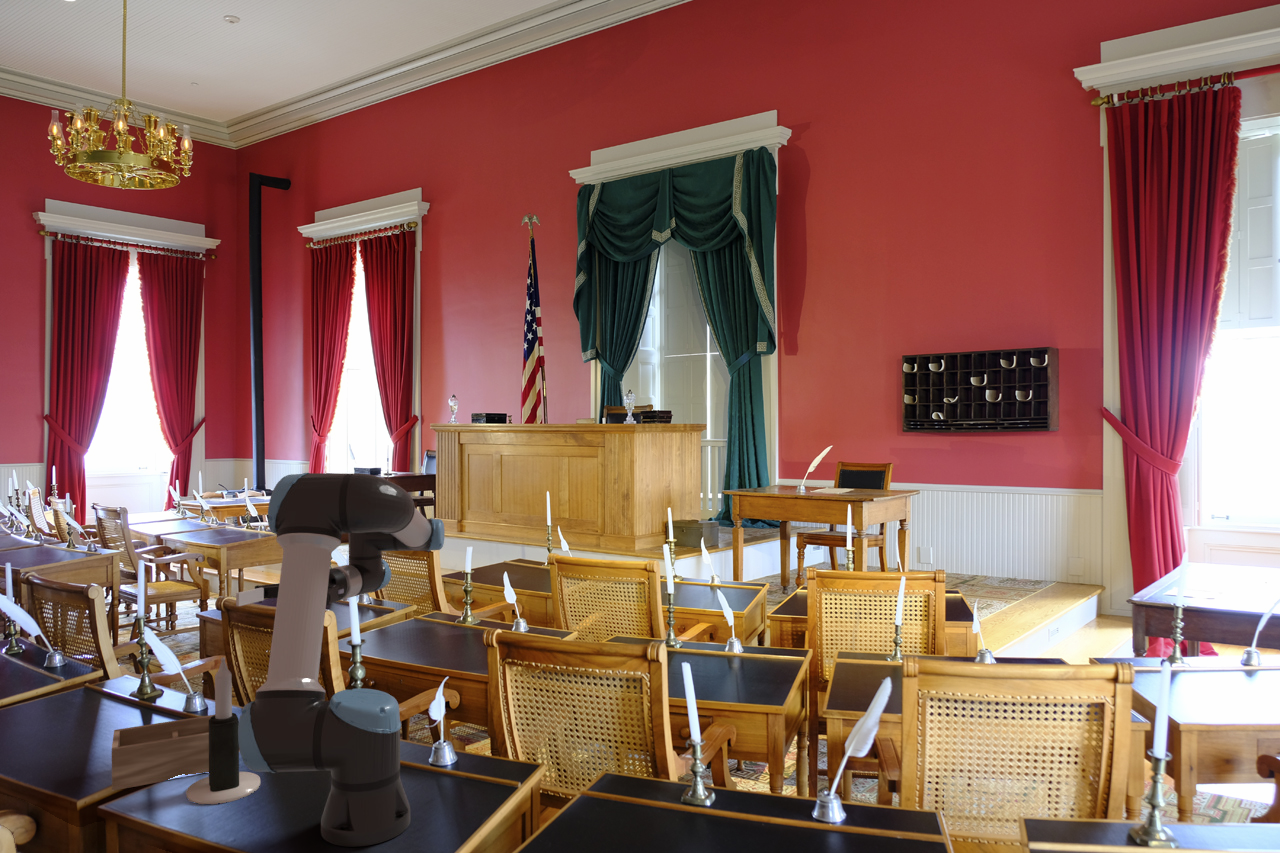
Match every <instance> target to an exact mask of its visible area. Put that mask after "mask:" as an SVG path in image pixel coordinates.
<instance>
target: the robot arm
mask: <svg viewBox="0 0 1280 853" xmlns="http://www.w3.org/2000/svg"><path fill="white" fill-rule="evenodd" d="M267 515H268V519H267V524H268V528H269V530H270V532H271V533H273V534H275V535H276V541H275V542H276V543H278V545H279V547H281V548H282V550H283V552H282V560H281V568H280V576H279V583H269V584H262V585H259V584H258V585H255V586H254V588H252V589H248V590H244V591H239V592H236V593H235V594H236V597H235V598H236V599H235V603H236V605H235V606H236V607H242V606H245V605H251V604H254V603H262V602H263V601H265V600H267V599H276V607H275V613H274V614H275V615H274V622H273V630H272V631H273V632H272V638H271V647H270V653H269V654H270V655H269V663H268V670H267V676H266V681H265V682H264V683H263V684H262V685H260V687H259V688H258V689H256V691H255V699H254V701H253V700H252V701H250V702H248V703H246V704H245V705H244V706H243V707H242V710H241V714H240V715H239V717H238V720H239V725H238V742H239V755H240V756H241V758H242V762H243V763H244V765H245V766H246V767H247V768H248V769H249V770H251V771H252V772H257V773H258V772H259V773H261V772H262V773H270V774H271V773H272V774H277V773H288V772H289V773H290V772H294V773H296V772H320V771H322V772H323V771H324V772H325V771H330V775H331V780H330V782H331V783H330V784H331V786H330V791H329V793H328V797H327V800H326V802H325V806H324V810H323V812H322V815H321V819H320V835H321V837H322V838H323V840H324V841H326V842H327V843H330V844H332V845H335V846H339V847H351V848H352V847H353V848H355V847H356V848H357V847H366V846H367V847H368V846H372V845H377V844H380V843H384V842H387V841H389V840H392V839H393V838H396V837H398V836H399V835H401V834H402V833H404V832H405V831H406V829H408V828H409V826H410V825H411V805H410V802H409V800H408V797H407V794H406V792H405V789H404V786H403V783H402V780H401V726H402V722H401V721H402V720H401V719H400V705H399V703H398V701H397V699H396V698H395V697H394V696H392V695H390V694H389V693H388V692H385V691H382V690H378V689H372V688H360V687H359V688H352V689H342V690H340V691H337V692H336V693H334V694H333V695H332V697H331V698H330V700H325V699H326V689H325V688H323V686H322V685H321V684H320V682H319V674H320V673H319V672H320V664H321V663H320V662H321V654H322V644H323V636H324V635H323V634H324V626H325V616H326V610H327V609H326V607H327V606H329V605H330V604H333V603H336V602H339V601H343V602H347V601H348V598H354V597H357V596H360V595H361V596H362V595H365V594H371V593H374V592H377V591H379V590H382V589H384V588H385V587H387V586H388V584H389V583H390V581H391V579H392V570H391V568H390V565H389V563H388V562H387V561H386V560H385V559H384V558H382V557H383V555H382V554H383V553H382V552H393V551H394V552H399V551H402V552H403V551H405V552H406V551H408V552H409V551H410V552H411V551H414V552H415V551H417V552H419V551H420V552H421V551H422V552H425V551H426V552H431V551H439V550H442V548H443V547H444V545H445V544H444V543H445V533H446V532H445V524H444V521H443V520H442V519H439V518H432V517H431V518H426V517H425V516H424V515H423V514H422V513H421V512H420V511H419V510H418V509H417V508H416V507H415V502H414V499H413V497H412V496H411V494H410V493H408V491H407V490H405V489H404V488H403V487H401V486H400V485H398V484H396V483H395V482H392V481H390V480H388V479H386V478H383V477H380V476H377V475H373V474H369V473H362V472H361V473H360V472H359V473H357V472H354V473H322V472H321V473H319V472H318V473H314V472H313V473H312V472H311V473H310V472H304V473H295V474H294V473H293V474H292V473H291V474H288V475H285V476H283V477H282V478H281V479H280V480H278V482H277V483H276V484H275V486H274V488H273V490H272V492H271V495H270V499H269V502H268V508H267ZM344 534H348V535H347V536H348V564H344V565H340V566H335V567H332V568H331V560H332V553H333V552H334V551H335V550H336V549H338V548H339V547H340V546H341V545H342V537H343V536H342V535H344Z"/></svg>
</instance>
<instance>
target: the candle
mask: <svg viewBox="0 0 1280 853" xmlns="http://www.w3.org/2000/svg"><path fill="white" fill-rule="evenodd" d="M232 677H233V676H232V672H231V671H230V670H229V669H228V665H227V663H226V657H224V656H223V657H221V658H220V665H219V668H218V671H216V673H215V676H214V708H215V709H214V710H215V711H214V713H215V714H213V715H214V716H212V717H211V719H209V773H208V777H209V785H210V791H212V792H217V791H222V790H227V789H232V788H236V787H238V786H239V772H240V750H239V742H238V725H239V717H238V714H237V713H235V712H233V704H232V703H233V699H232V698H233V694H232V693H233V692H232V691H233V690H232V689H233V687H232V682H233V681H232Z"/></svg>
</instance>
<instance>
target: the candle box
mask: <svg viewBox="0 0 1280 853" xmlns="http://www.w3.org/2000/svg"><path fill="white" fill-rule="evenodd" d="M214 715H215V714H210V715H203V716H196V717H191V718H189V717H188V718H183V719H182V718H181V719H178V720H177V719H176V720H172V721H171V720H170V721H165V722H158V723H151V724H144V725H138V726H131V727H123V728H119V729H118V728H117V729H114V730H113V737H112V745H111V791H112V792H113V791H119V790H123V789H128V788H133V787H140V786H141V787H142V786H144V785H150V784H151V785H152V784H157V783H161V782H162V783H163V782H166V781H165V780H168V779H170V778H173V777H175V776H178V775H182V774H185V775H188V774H196V773H203V772H209V719H211V717H212V716H214ZM168 781H169V780H168Z"/></svg>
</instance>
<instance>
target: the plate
mask: <svg viewBox="0 0 1280 853" xmlns="http://www.w3.org/2000/svg"><path fill="white" fill-rule="evenodd" d="M259 786H260V787H261V777H260V776H259V775H258V774H256V773H254V772H250V771H249V772H248V771H239V786H238V787H236V788H232V789H227V790H222V791H217V792H212V791H210V785H209V776H207V777H204V778H203V777H202V778H201V779H198V780H197V781H195V782H194V783H191V784H190V785H189V786H188V787H187V789H186V792H185V796H187V797H186V799H187V798H188V799H189V800H188V799H187V800H188V801H189V802H190V801H191V803H192V802H195V803H194V804H196V803H198V804H197V805H204V804H211V805H219V804H218V803H220V804H225V803H226V802H227V803H230V802H231V803H232V802H234V801H238V800H240V798H241V799H244V798H246V797H248V796H251V795H252V794H253V793H255V792H256V791H257V790H259V788H260V787H259ZM254 791H255V792H254ZM251 793H252V794H251ZM243 797H244V798H243Z"/></svg>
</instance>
